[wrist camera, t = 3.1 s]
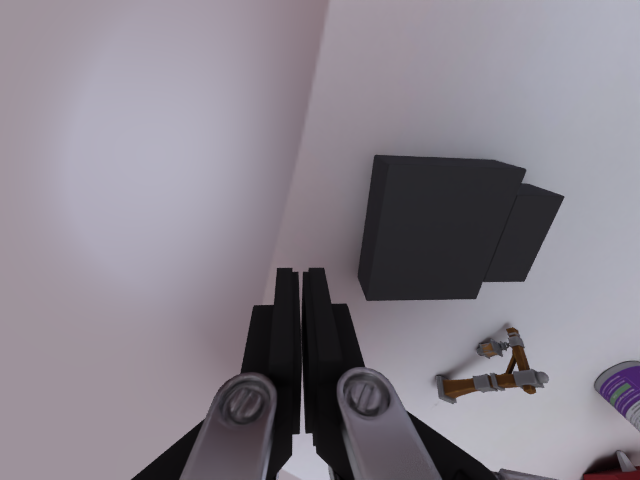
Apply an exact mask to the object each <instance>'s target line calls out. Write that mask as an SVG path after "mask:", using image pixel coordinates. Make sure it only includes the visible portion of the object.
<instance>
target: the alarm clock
mask: <svg viewBox="0 0 640 480" xmlns="http://www.w3.org/2000/svg"><path fill="white" fill-rule="evenodd" d="M616 453H617V456H618V460H619V463H620V466H621V467H620V468H615V469H609V470H604V471H599V472H594V473H588V474H583V475H584V480H640V466H633V464H632V463H631V462H630V460H629V459H628V458H627V456H626V455H625V454H624V453H623V452H621V451H617V452H616Z"/></svg>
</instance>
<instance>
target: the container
mask: <svg viewBox="0 0 640 480" xmlns="http://www.w3.org/2000/svg"><path fill="white" fill-rule="evenodd" d="M595 389H596V391H597V392H598V393H599V394H601V396H603V397H604V398H605V399H606V400H607V401H608V402H609V403H610V404H611V405H612V406H613V407H614V408H615V409H616V410H617V411H618V412H619V413H620V414H622V415H623V416H624V417H625V418H626V419H627V420H628V421H629V422H630V423H631V424H632V425H633V426H634V427H635V428H636V429H637V430H638V431H640V362H636V361H630V362H625V363H621V364H618V365H616V366H614V367H612V368H610V369H608V370H607V371H605V372H604V373H603V374H602V375H601V376H600V377H599V378H598V379H597V381H596V383H595Z"/></svg>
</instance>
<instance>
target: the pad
mask: <svg viewBox="0 0 640 480" xmlns="http://www.w3.org/2000/svg"><path fill="white" fill-rule="evenodd" d="M525 172H526V169H524V168H521V167H517V166H514V165H510V164H506V163H503V162H499V161H496V160H485V159H461V158H437V157H413V156H389V155H375V156H374V163H373V170H372V177H371V184H370V191H369V199H368V206H367V213H366V220H365V228H364V235H363V242H362V249H361V256H360V264H359V271H358V279H359V282H360V285H361V287H362V290H363V293H364V295H365V298H366V300H367V301H385V300H447V299H476V298H477V295H478V293H479V290H480V288H481V285H482V283H483V282H524V281H525V279H526V277H527V275H528V273H529V271H530V269H531V266H532V264H533V262H534V260H535V258H536V256H537V254H538V252H539V250H540V247H541V245H542V243H543V241H544V239H545V237H546V235H547V233H548V231H549V228H550V226H551V224H552V222H553V220H554V218H555V216H556V214H557V212H558V209H559V207H560V205H561V203H562V201H563V199H564V196H562V195H560V194H557V193H554V192H551V191H548V190H545V189H542V188H539V187H536V186H533V185H530V184H521V183H522V180H523V178H524V175H525Z"/></svg>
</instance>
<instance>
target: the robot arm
mask: <svg viewBox="0 0 640 480" xmlns="http://www.w3.org/2000/svg"><path fill="white" fill-rule="evenodd" d="M301 341H302V347H301ZM302 365H303V388H304V412H305V432H306V434H307V433H312V434H313V446H316V453H317V454H318V455H319V456H320V457H321V458H322V459H323V460H324V461H325V462H326V463H327V464H328V470H329V475H330V480H557V479H552V478H547V477H542V476H537V475H532V474H526V473H521V472H516V471H511V470H506V469H500V471H499V472H493V471H490V470H489V469H488V468H486V467H485V466H484V465H483V464H482V463H480V462H479V461H478V460H476V459H475V458H473V457H472V456H470V455H469V454H468V453H466V452H465V451H463V450H462V449H460V448H459V447H458V446H456V445H455V444H453V443H452V442H451V441H449V440H448V439H446V438H445V437H443V436H442V435H441V434H439V433H438V432H436V431H435V430H433V429H432V428H431V427H429V426H428V425H426V424H425V423H423V422H422V421H421V420H419V419H418V418H416V417H415V416H414V415H412V414H411V413H409V412H408V411H406V410H405V408H404V406H403V404H402V402H401V400H400V398H399V396H398V395H397V393H396V391H395V389H394V387H393V386H392V384H391V383H390V381H389V380H388V379H387V378H386V377H385V376H384V375H382V374H381V373H379V372H377V371H375V370H373V369H370V368H366V367H365V365H364V361H363V358H362V354H361V351H360V347H359V344H358V340H357V337H356V333H355V330H354V326H353V322H352V319H351V315H350V312H349V308H348V306H347V304H331V299H330V294H329V289H328V285H327V280H326V275H325V270H324V268H309V272H303V287H302V321H301V323H300V299H299V275H298V272H292V268H277V276H276V287H275V298H274V305H254V307H253V311H252V316H251V321H250V326H249V332H248V337H247V342H246V347H245V353H244V358H243V363H242V368H241V373H240V374H239V375H236V376H234V377H233V378H231V379H229V380H228V381H226V382H225V383H224V385H222V386H221V387H220V389H219V390H218V392H217V393H216V395H215V397H214V399H213V401H212V404H211V406H210V409H209V411H208V413H207V415H206V418H205V419H204V420H203V421H201V422H200V423H199V424H198V425H197V426H195V427H194V428H193V429H192V430H191V431H189V432H188V433H187V434H186V435H184V436H183V437H182V438H181V439H180V440H178V441H177V442H176V443H175V444H174V445H172V446H171V447H170V448H169V449H168V450H166V451H165V452H164V453H163V454H161V455H160V456H159V457H158V458H157V459H155V460H154V461H153V462H152V463H151V464H149V465H148V466H147V467H146V468H145V469H144V470H142V471H141V472H140V473H138V474H137V475H136V476H135V477H134V478H132V479H131V480H278V477H279V470H280V469H281V468H282V467H283V465H284V464H285V463H286V462H287V461H288V459H289V458H290V457H291V456H292V435H293V434H300V407H301V377H302Z"/></svg>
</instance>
